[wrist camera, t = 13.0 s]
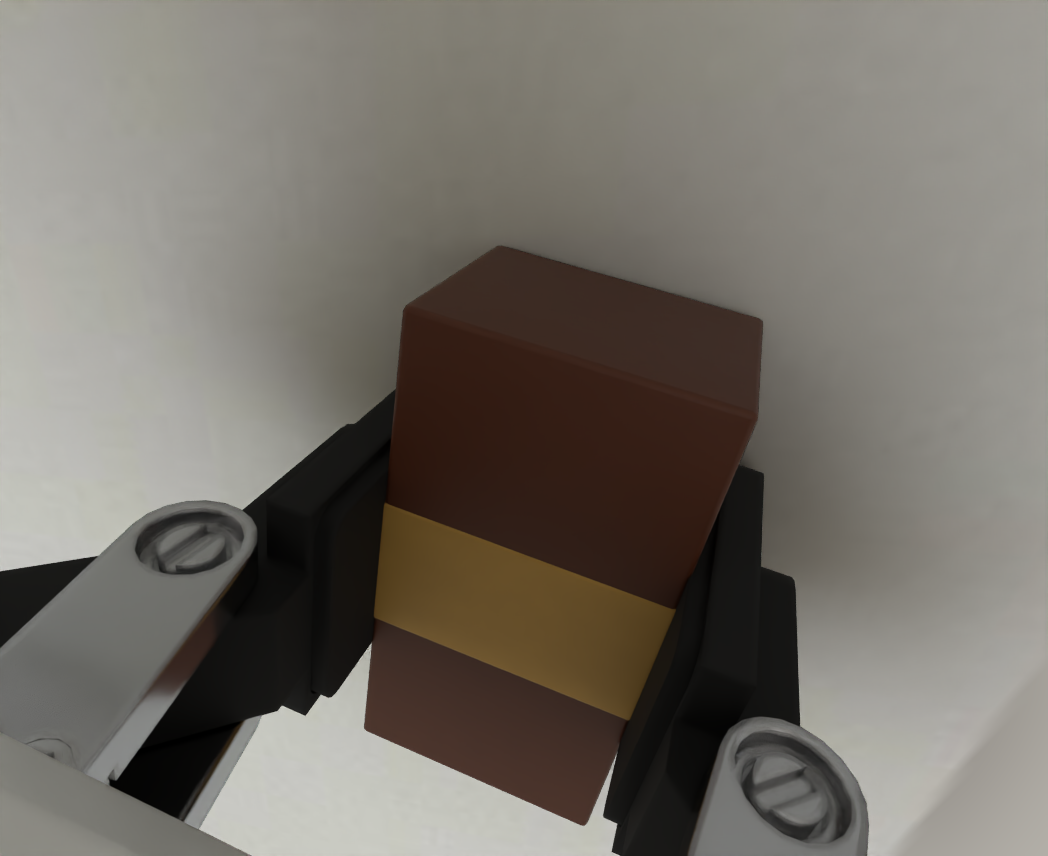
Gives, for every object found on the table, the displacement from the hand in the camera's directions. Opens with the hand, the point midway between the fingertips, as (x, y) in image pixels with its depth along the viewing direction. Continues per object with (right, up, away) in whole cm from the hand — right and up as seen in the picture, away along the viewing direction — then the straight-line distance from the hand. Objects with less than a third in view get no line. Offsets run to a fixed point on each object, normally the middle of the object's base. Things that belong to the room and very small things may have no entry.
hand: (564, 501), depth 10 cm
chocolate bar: (0, 0, 0) cm, 0 cm away
